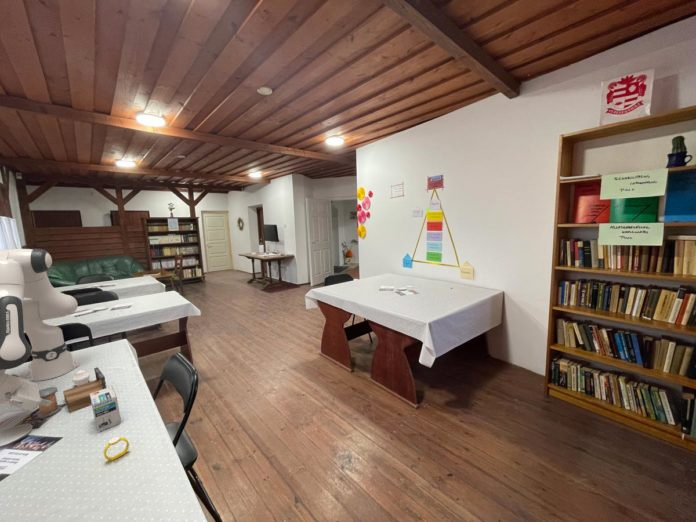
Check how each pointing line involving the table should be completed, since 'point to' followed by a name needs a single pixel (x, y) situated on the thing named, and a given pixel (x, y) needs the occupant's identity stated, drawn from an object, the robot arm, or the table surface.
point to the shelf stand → (84, 392)
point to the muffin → (81, 377)
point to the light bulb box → (105, 408)
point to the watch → (112, 442)
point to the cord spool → (53, 408)
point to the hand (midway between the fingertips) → (49, 400)
